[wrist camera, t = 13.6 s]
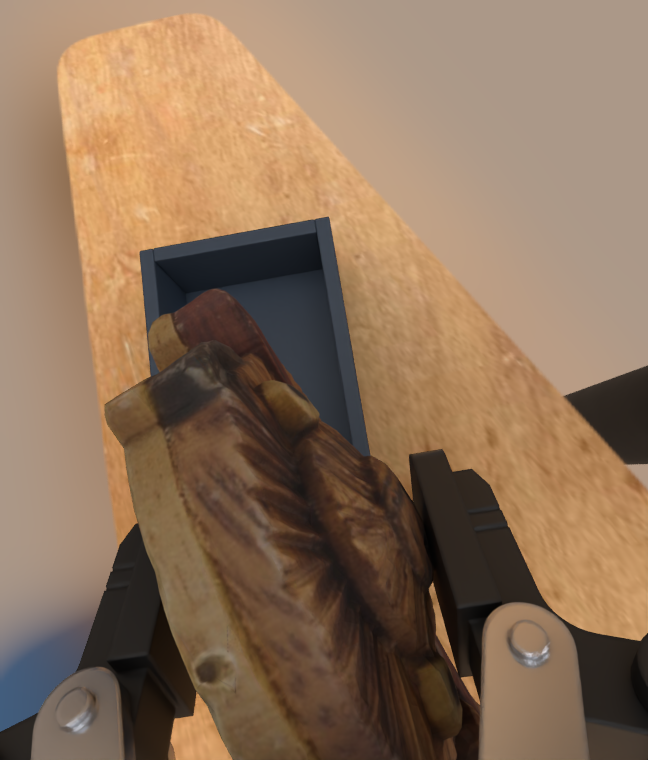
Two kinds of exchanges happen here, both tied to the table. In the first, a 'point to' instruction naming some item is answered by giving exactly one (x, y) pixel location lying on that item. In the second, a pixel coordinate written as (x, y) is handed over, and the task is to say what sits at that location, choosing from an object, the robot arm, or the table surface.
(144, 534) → the wooden carving
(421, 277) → the table surface
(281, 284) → the bin
